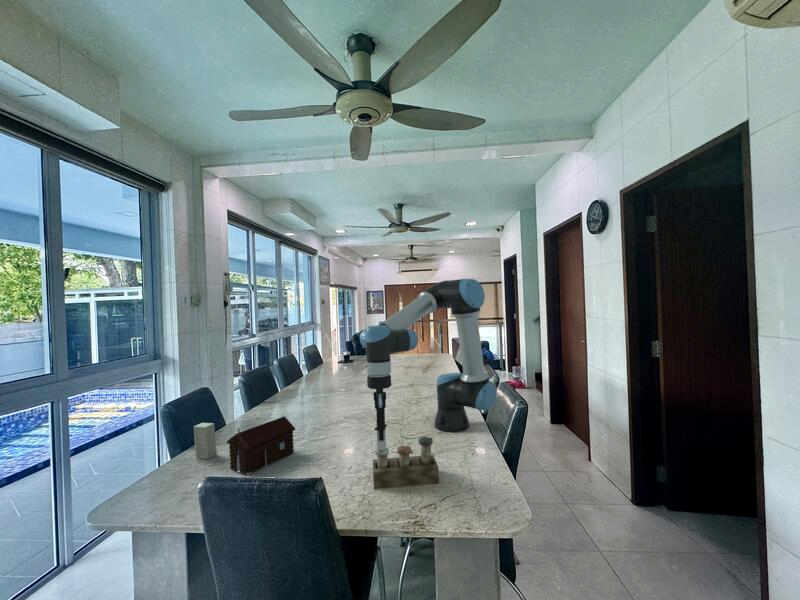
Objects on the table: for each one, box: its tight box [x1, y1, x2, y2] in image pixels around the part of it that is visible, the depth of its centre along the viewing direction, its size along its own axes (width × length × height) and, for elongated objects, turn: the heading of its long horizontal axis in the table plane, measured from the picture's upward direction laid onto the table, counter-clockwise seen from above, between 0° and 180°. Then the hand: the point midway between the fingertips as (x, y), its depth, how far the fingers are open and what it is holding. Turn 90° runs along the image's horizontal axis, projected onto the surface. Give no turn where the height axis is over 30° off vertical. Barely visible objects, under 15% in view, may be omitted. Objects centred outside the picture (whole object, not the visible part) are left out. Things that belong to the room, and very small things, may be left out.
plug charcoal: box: [418, 436, 433, 465], centre depth 116 cm, size 4×4×8 cm
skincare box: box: [193, 422, 217, 460], centre depth 139 cm, size 6×4×12 cm
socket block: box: [372, 454, 440, 490], centre depth 115 cm, size 20×9×5 cm, turn 95°
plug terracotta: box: [396, 445, 412, 467], centre depth 115 cm, size 4×4×8 cm
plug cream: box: [374, 447, 390, 468], centre depth 115 cm, size 4×4×8 cm
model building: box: [226, 416, 296, 474], centre depth 133 cm, size 21×12×15 cm, turn 148°
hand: (381, 449), depth 115 cm, fingers closed
